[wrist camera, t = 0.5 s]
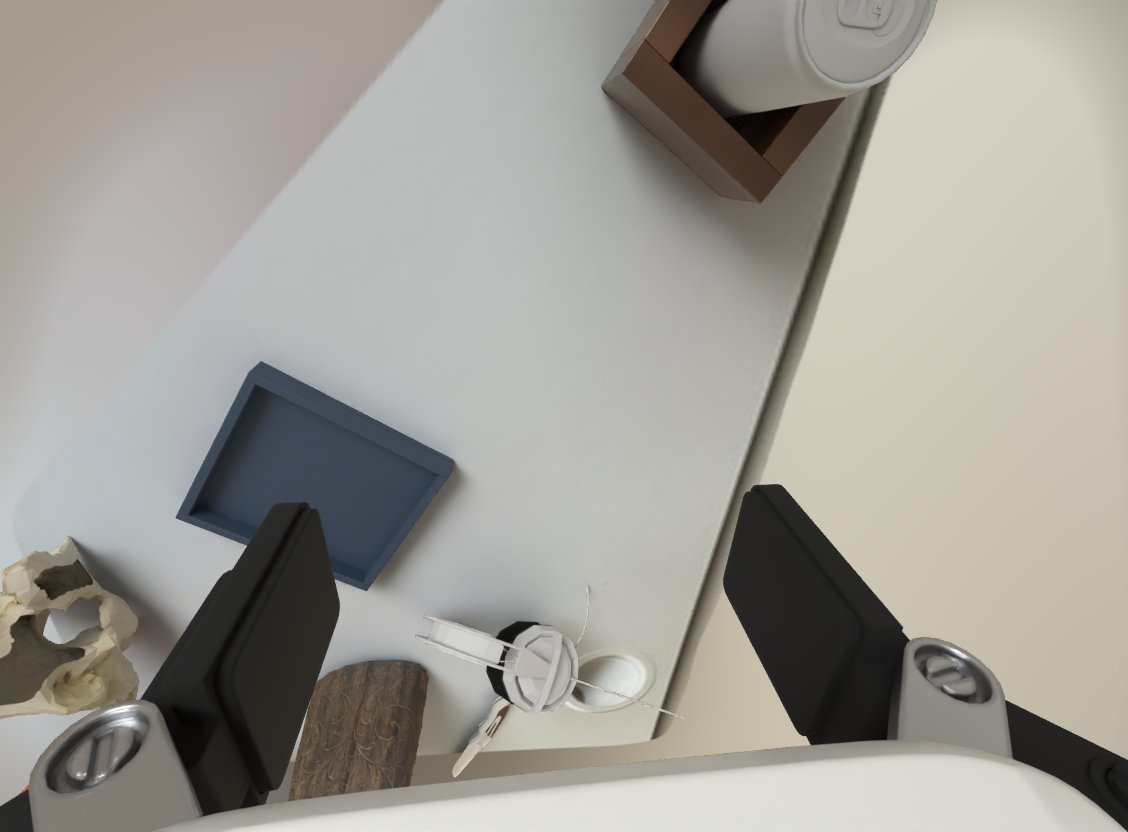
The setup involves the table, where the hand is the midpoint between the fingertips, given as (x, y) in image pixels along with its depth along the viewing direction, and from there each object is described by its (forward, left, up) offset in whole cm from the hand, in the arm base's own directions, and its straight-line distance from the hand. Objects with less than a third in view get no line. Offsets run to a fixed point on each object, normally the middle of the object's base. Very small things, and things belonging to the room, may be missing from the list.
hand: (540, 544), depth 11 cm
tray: (+18, -4, -22) cm, 28 cm away
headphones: (+21, +17, -22) cm, 35 cm away
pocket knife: (+37, +20, -21) cm, 47 cm away
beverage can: (-16, +2, -22) cm, 27 cm away
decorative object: (+31, -15, -14) cm, 37 cm away
